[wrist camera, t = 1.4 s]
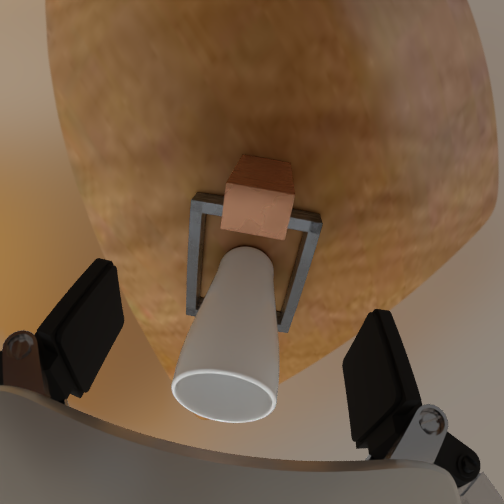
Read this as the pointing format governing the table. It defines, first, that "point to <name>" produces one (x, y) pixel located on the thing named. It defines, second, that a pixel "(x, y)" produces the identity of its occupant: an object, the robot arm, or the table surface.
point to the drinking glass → (233, 344)
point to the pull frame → (254, 223)
